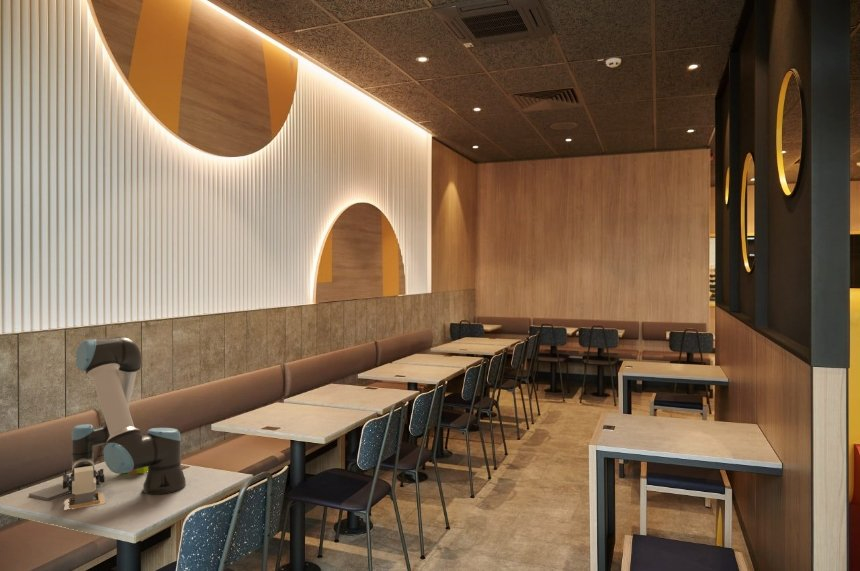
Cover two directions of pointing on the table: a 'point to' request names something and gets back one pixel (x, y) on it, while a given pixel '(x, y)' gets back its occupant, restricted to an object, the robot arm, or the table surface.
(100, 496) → the tan square frame
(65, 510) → the table surface
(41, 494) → the slate board
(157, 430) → the robot arm
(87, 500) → the beige and grey block
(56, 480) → the table surface
